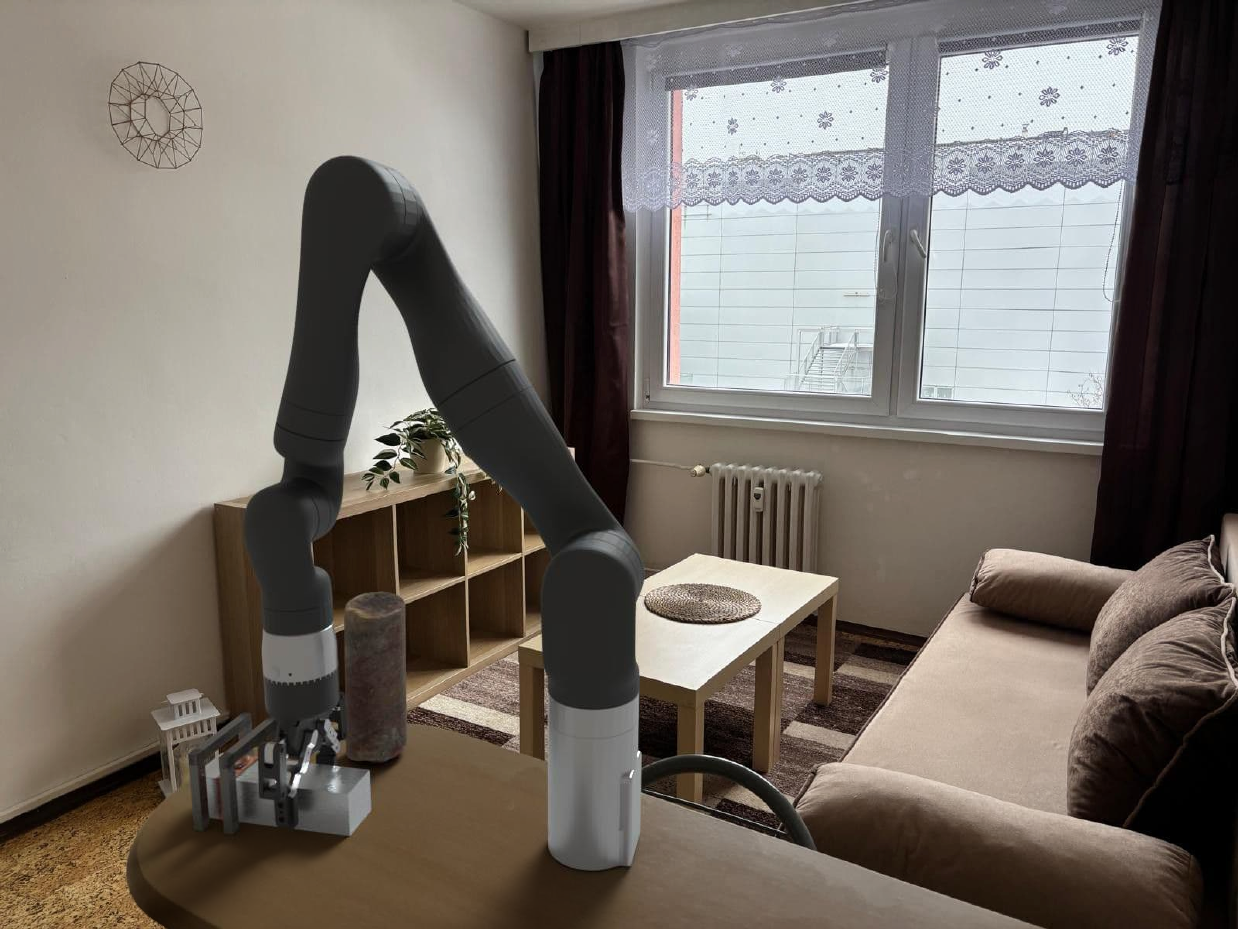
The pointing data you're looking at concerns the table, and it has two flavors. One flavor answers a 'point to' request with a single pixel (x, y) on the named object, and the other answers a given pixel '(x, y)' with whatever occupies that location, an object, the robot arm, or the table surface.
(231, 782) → the collar
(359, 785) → the brushed metal post
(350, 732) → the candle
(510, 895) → the table surface
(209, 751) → the collar
